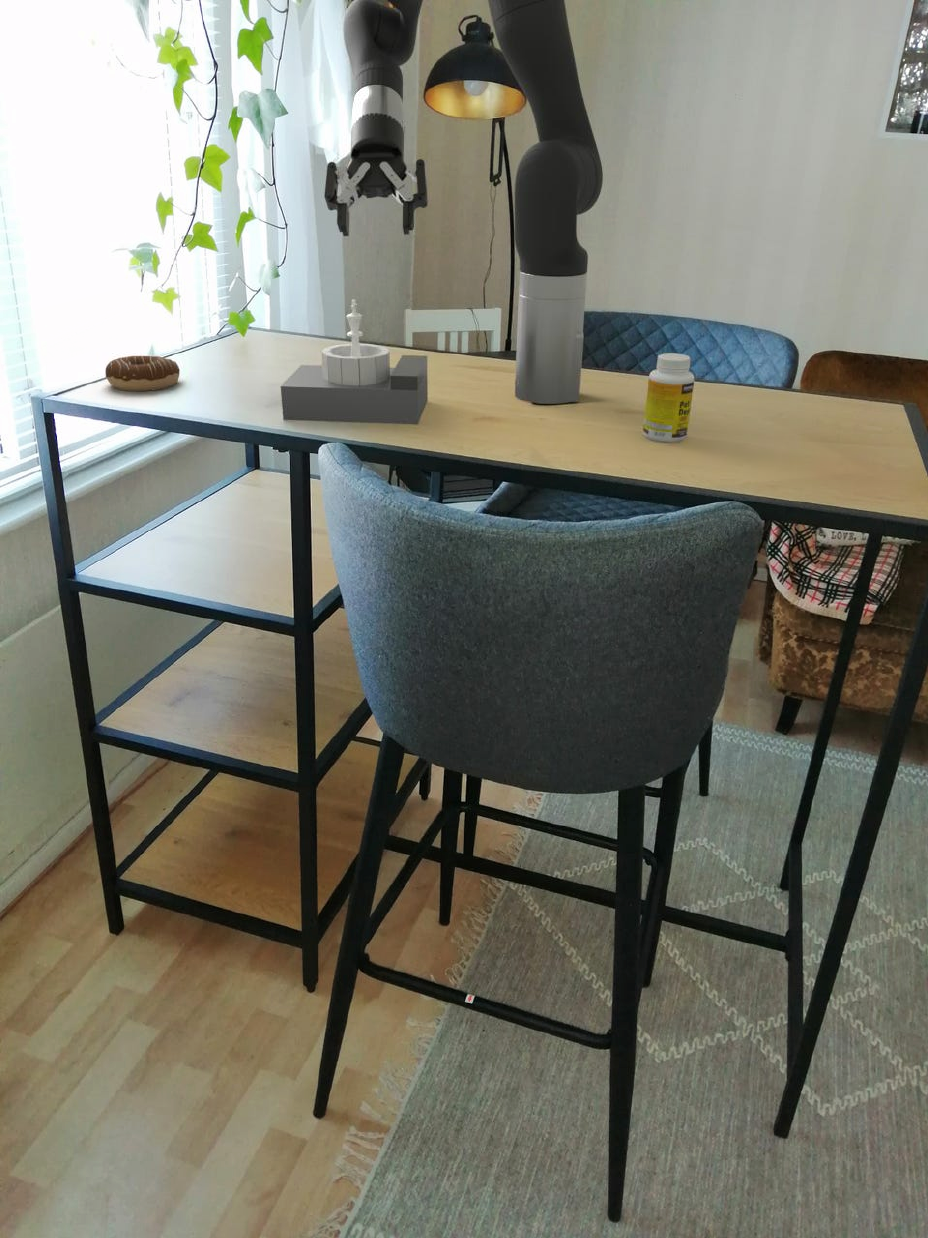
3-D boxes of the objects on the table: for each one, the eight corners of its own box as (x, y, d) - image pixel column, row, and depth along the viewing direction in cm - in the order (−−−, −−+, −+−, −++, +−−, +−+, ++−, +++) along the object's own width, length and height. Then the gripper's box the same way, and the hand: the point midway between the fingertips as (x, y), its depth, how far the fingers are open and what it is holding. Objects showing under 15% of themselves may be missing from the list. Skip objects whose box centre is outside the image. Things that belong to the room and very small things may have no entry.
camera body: (427, 400, 133) (427, 343, 129) (417, 424, 122) (417, 363, 119) (303, 396, 134) (299, 339, 130) (283, 419, 123) (278, 358, 120)
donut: (95, 393, 135) (90, 365, 133) (123, 375, 144) (119, 349, 142) (167, 395, 134) (163, 367, 132) (191, 377, 143) (187, 351, 141)
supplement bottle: (679, 446, 115) (689, 363, 111) (636, 439, 118) (644, 357, 113) (692, 435, 120) (702, 354, 115) (650, 428, 122) (659, 349, 117)
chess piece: (378, 372, 128) (375, 297, 123) (371, 381, 124) (368, 303, 119) (342, 371, 129) (339, 296, 124) (334, 380, 124) (330, 302, 119)
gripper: (323, 112, 129) (319, 216, 126) (425, 109, 128) (424, 213, 125) (333, 150, 136) (329, 249, 133) (429, 147, 136) (429, 246, 132)
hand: (375, 231), depth 129 cm, fingers open, 8 cm apart
